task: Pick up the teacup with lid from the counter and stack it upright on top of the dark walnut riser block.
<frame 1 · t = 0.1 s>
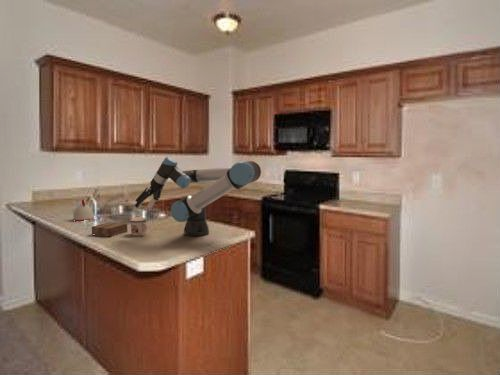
hand: (141, 209, 196), 15 cm above the countertop, tool tilted 35°, fingers open, 13 cm apart
walnut riser: (110, 233, 200), on the countertop
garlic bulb: (84, 220, 240), on the countertop
teacup with lid: (140, 234, 198), on the countertop
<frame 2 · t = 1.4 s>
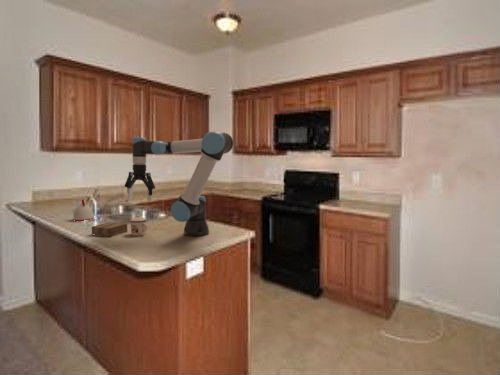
hand: (139, 200, 196), 21 cm above the countertop, tool pointing down, fingers open, 13 cm apart
nothing on the countertop moved.
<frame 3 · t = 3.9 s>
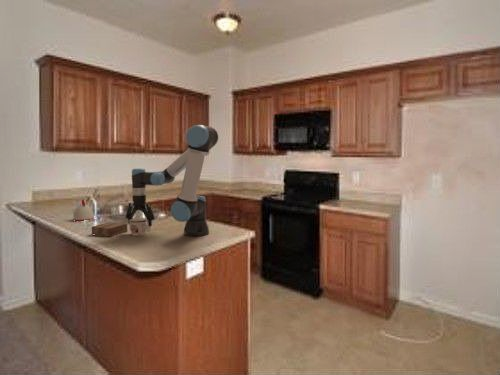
hand: (140, 230, 198), 2 cm above the countertop, tool pointing down, fingers closed on teacup with lid, 12 cm apart
teacup with lid: (140, 234, 198), on the countertop, touching gripper
everything else where it was.
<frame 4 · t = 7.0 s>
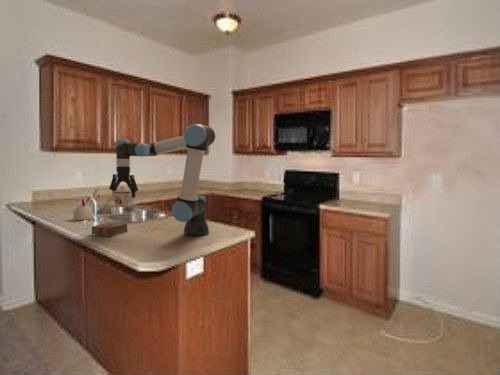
hand: (123, 202, 197), 19 cm above the countertop, tool pointing down, fingers closed on teacup with lid, 12 cm apart
teacup with lid: (124, 206, 198), point 17 cm above the countertop, touching gripper
everything else where it was.
when the fingers open (9 cm above the countertop, at t = 10.1 s): teacup with lid drops 1 cm, resting on walnut riser.
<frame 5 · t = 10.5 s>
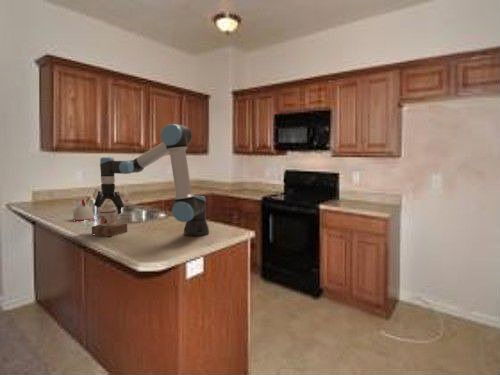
hand: (109, 218, 199), 9 cm above the countertop, tool pointing down, fingers open, 13 cm apart
teacup with lid: (109, 225, 200), point 5 cm above the countertop, touching walnut riser
everything else where it was.
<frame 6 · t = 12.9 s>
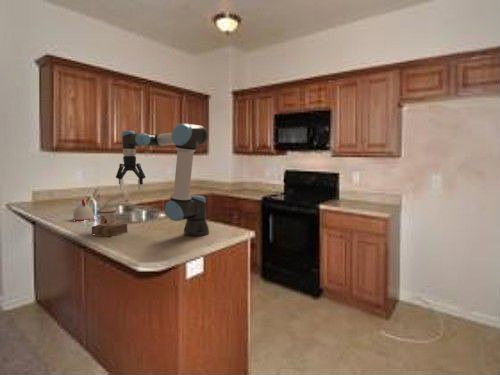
hand: (131, 189, 209), 25 cm above the countertop, tool pointing down, fingers open, 13 cm apart
nothing on the countertop moved.
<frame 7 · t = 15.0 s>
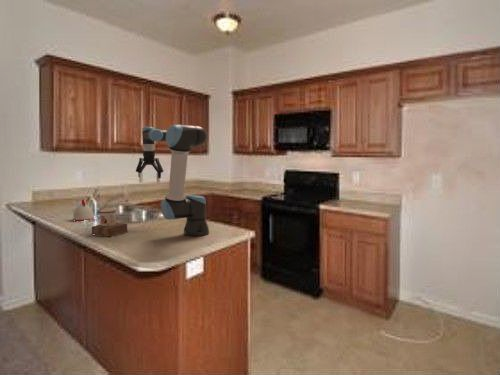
hand: (149, 182, 221), 29 cm above the countertop, tool pointing down, fingers open, 13 cm apart
nothing on the countertop moved.
at the end: teacup with lid inside the target area on the walnut riser (0.1 cm from its centre), point 4.8 cm above the walnut riser's base; teacup with lid tilted 0°; the gripper is holding nothing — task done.
